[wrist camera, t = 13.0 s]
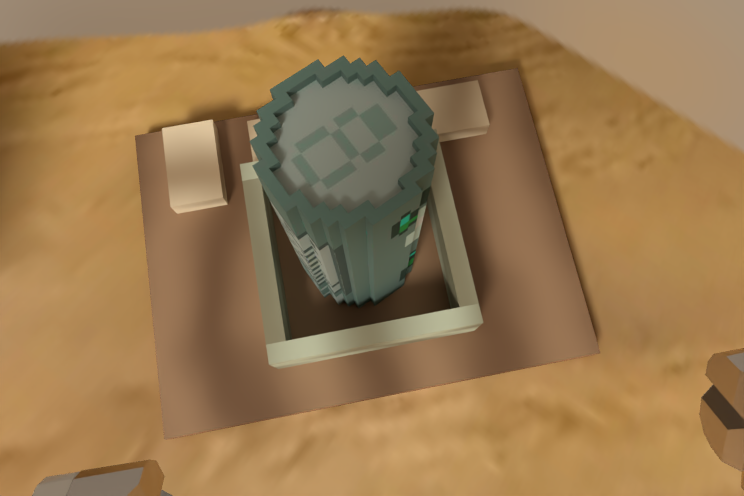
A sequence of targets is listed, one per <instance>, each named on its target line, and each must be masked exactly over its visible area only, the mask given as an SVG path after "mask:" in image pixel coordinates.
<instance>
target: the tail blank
mask: <svg viewBox="0 0 744 496" xmlns="http://www.w3.org/2000/svg"><path fill="white" fill-rule="evenodd" d="M162 134H163V143H164V152H165V161H166V170H167V179H168V189H169V198H170V207H171V208H172V209H173V210H174V211H175V212H176V213H177V214H179V213H184V212H190V211H195V210H201V209H206V208H212V207H217V206H223V205H228V202H227V194H226V187H225V180H224V172H223V165H222V158H221V150H220V143H219V136H218V129H217V127H216V125H215V123H214V121H213V120H206V121H201V122H195V123H189V124H184V125H178V126H172V127H167V128H162Z"/></svg>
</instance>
